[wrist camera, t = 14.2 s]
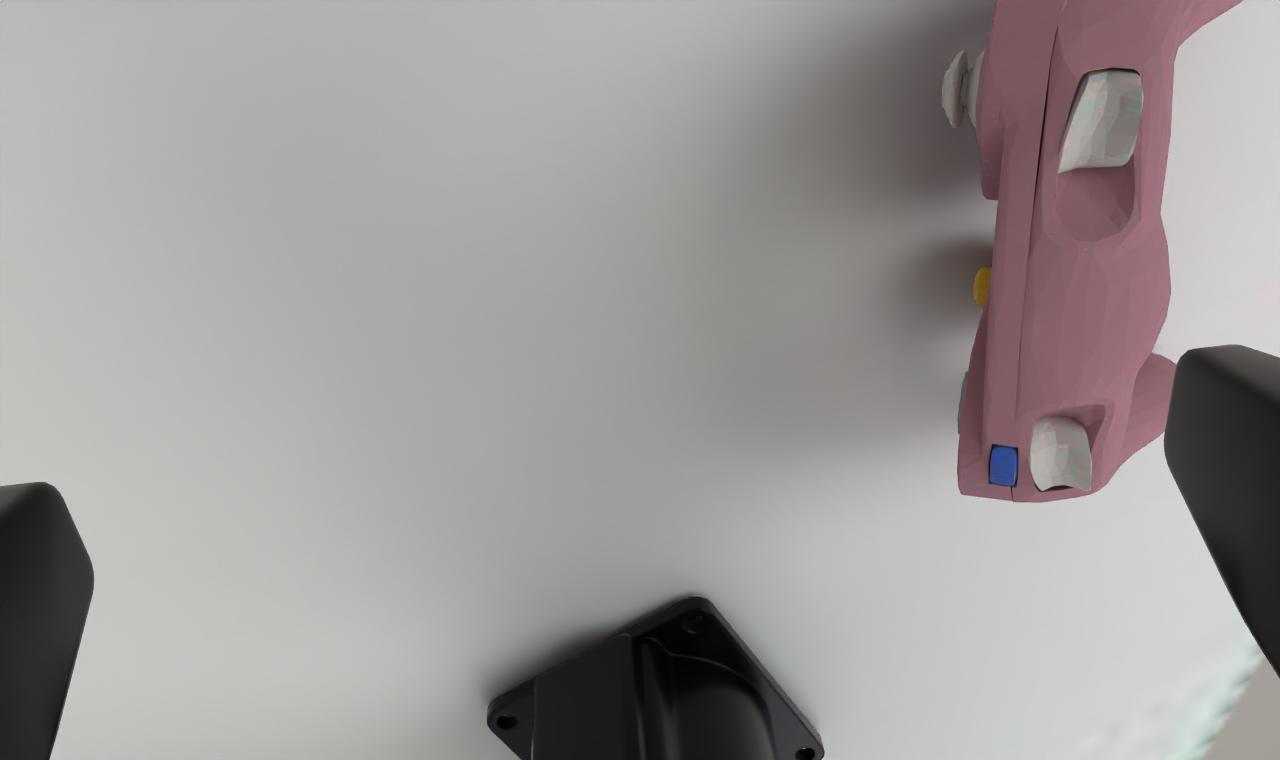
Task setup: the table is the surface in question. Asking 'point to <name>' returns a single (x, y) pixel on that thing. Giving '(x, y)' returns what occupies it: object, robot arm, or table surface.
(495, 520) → the table surface
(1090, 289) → the video game controller
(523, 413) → the table surface
